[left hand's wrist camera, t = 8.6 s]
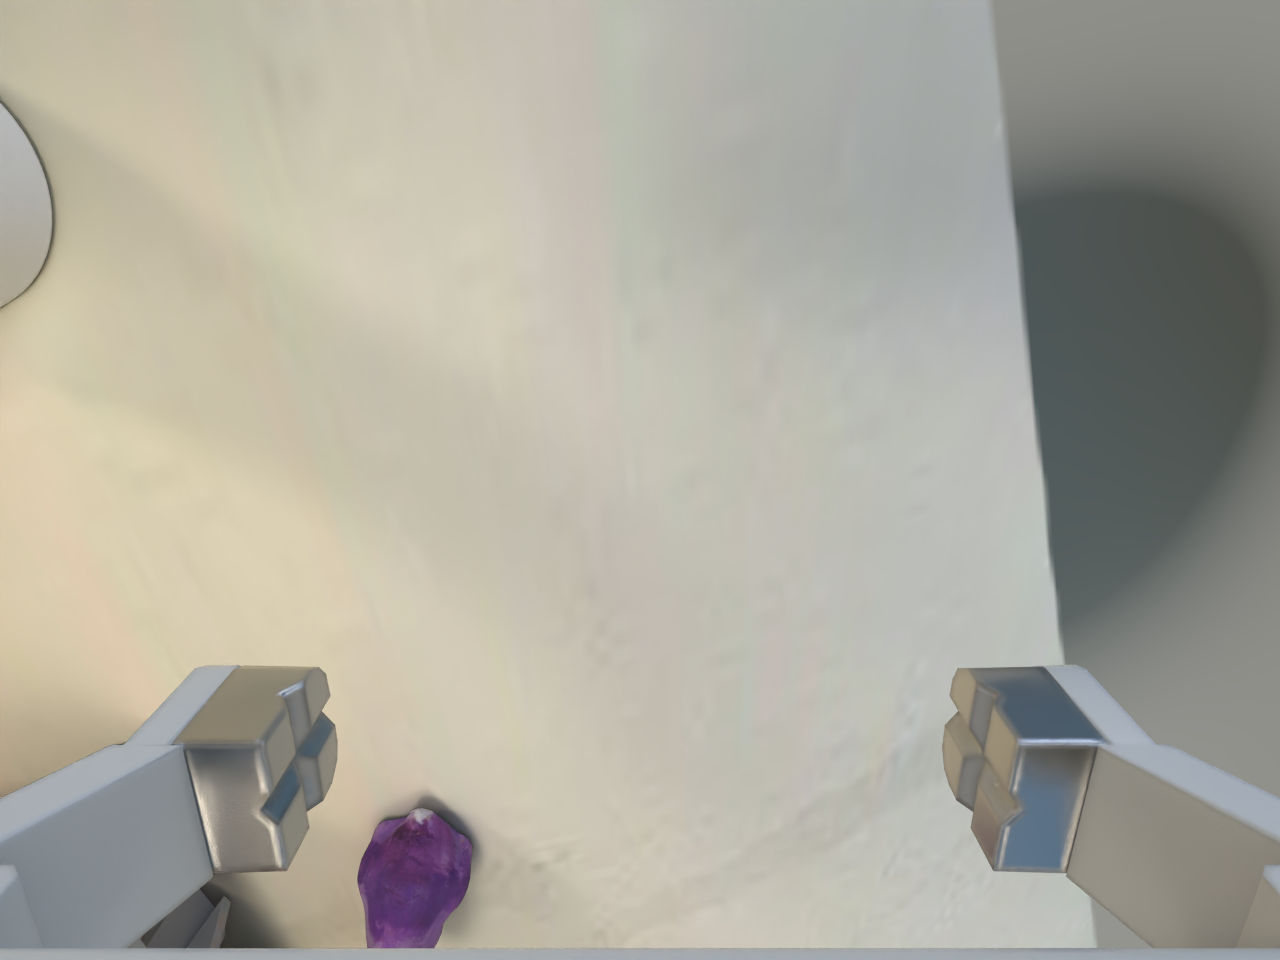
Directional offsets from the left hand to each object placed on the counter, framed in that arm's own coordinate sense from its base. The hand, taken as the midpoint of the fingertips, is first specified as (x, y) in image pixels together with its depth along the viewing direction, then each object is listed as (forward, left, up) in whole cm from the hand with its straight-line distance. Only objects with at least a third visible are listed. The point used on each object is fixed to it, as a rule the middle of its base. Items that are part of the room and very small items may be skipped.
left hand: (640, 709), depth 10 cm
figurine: (-13, -45, -41) cm, 62 cm away
